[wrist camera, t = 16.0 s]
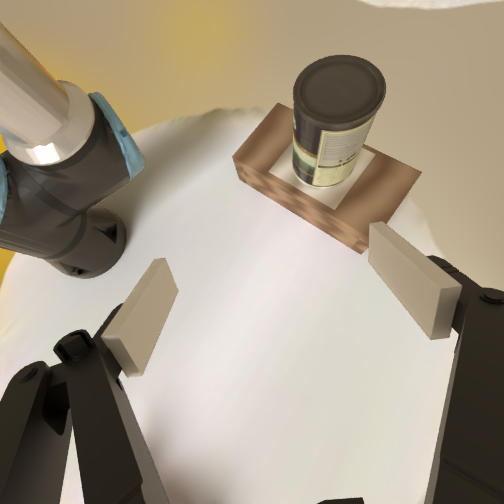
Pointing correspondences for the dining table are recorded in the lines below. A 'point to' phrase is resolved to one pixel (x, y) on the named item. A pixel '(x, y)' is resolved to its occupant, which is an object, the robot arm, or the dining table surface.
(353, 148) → the coffee can
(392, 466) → the dining table surface
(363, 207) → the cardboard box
